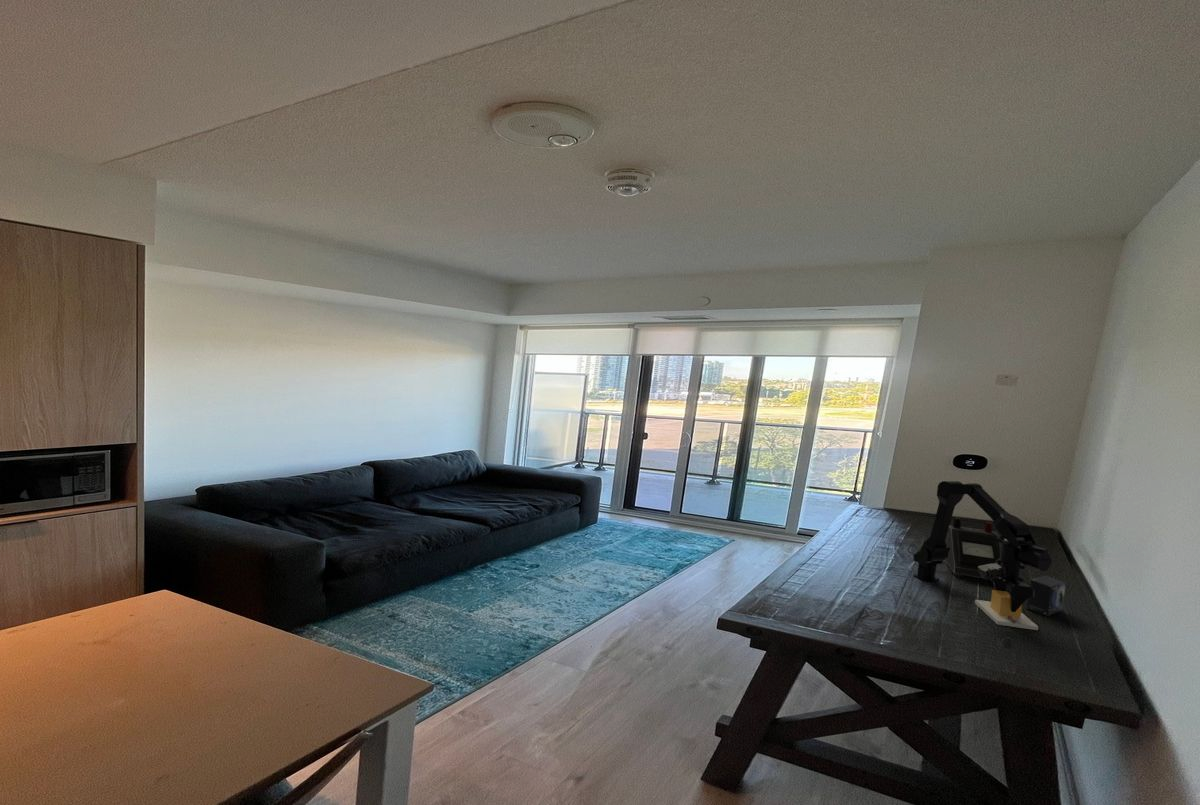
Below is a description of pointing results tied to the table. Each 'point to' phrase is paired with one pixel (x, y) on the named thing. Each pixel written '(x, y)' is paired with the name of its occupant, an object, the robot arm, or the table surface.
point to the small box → (1046, 595)
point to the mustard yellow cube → (1003, 604)
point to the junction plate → (1006, 617)
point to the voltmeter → (971, 548)
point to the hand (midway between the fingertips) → (1005, 605)
